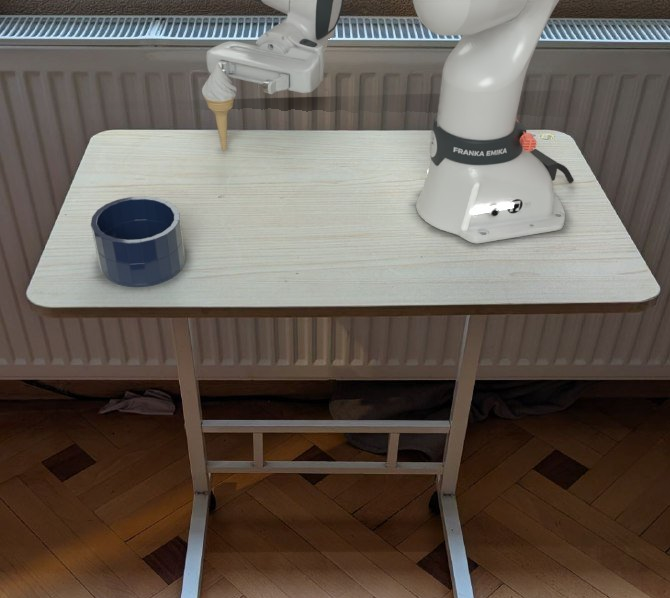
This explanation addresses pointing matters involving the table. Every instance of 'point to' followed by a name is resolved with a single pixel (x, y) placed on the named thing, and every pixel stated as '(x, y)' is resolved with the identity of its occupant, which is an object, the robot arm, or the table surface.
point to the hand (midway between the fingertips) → (241, 83)
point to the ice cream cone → (219, 99)
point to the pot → (138, 241)
